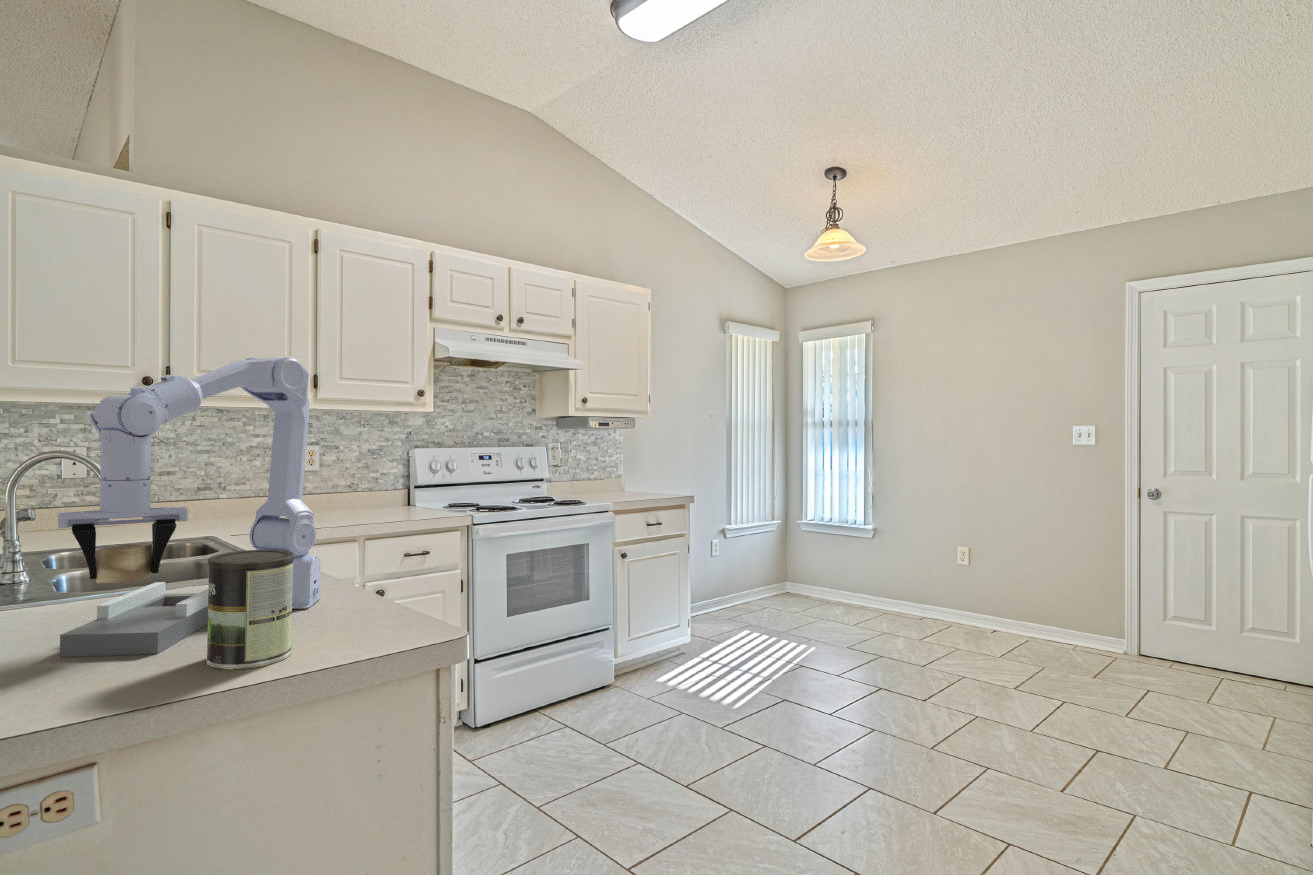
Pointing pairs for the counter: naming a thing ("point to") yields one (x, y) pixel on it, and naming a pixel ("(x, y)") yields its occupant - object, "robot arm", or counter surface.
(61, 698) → the counter surface
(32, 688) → the counter surface
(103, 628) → the grey railed base
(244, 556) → the coffee can
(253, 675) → the counter surface
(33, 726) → the counter surface
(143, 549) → the block
